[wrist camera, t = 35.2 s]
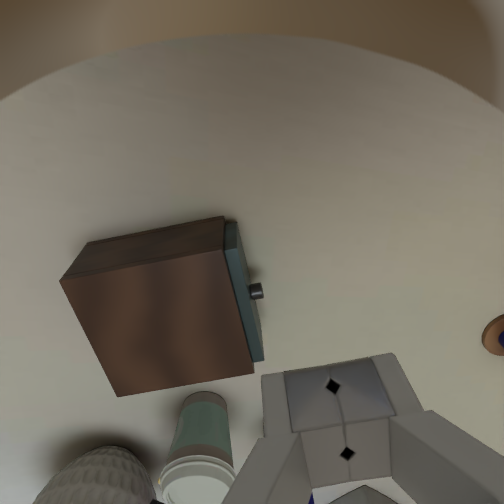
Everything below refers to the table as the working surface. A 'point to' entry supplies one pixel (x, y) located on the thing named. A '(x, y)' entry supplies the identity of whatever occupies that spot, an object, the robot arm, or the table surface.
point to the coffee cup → (199, 454)
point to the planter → (363, 497)
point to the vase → (100, 480)
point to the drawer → (244, 290)
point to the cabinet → (160, 307)
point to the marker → (501, 339)
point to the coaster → (494, 336)
